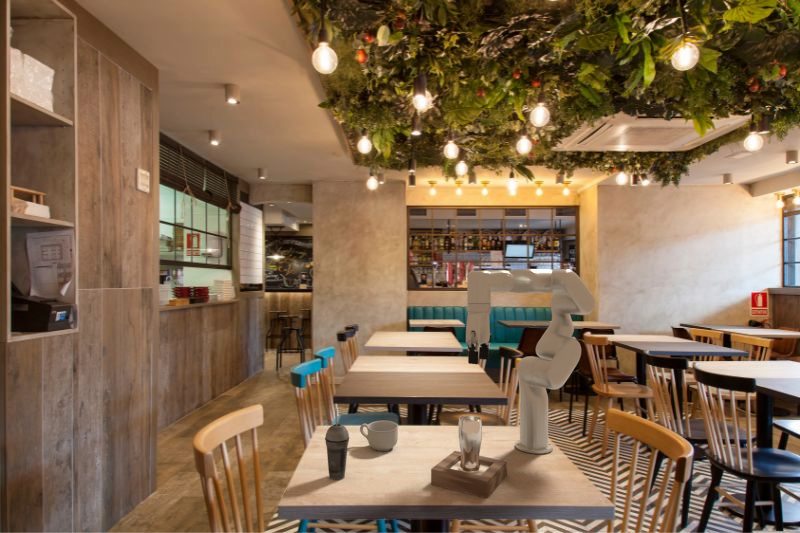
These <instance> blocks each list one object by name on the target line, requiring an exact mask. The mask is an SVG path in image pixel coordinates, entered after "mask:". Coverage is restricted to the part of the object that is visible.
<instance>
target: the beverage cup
mask: <svg viewBox="0 0 800 533" xmlns="http://www.w3.org/2000/svg"><path fill="white" fill-rule="evenodd" d="M334 412H335V413H334V414H335V415H334V416H335V417H334V418H335V423H334V424H332V425H331V426H330V427H329V428H328V429H327V431H326V432H325V438H324V440H325V446H326V453H327V454H326V455H327V457H326V458H327V467H328V470H327V471H328V476H329V477H328V478H329V480H331V481H341V480H343V479H345V476H346V468H347V466H346V465H347V456H348V446H349V443H350V442H349V441H350V435H349V431H348V428H346V426H344V425H342V424H341V423H338V408H334Z"/></svg>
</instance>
